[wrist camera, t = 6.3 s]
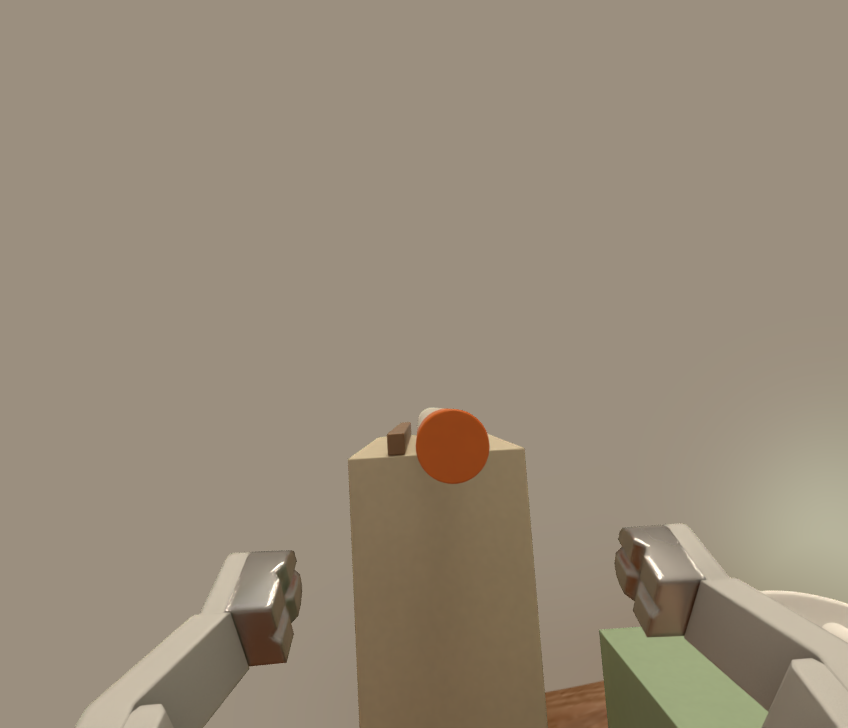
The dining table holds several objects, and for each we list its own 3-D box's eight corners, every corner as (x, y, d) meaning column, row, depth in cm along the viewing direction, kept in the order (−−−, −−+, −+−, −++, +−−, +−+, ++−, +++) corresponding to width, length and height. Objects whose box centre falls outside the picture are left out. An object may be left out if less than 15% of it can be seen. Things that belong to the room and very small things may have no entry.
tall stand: (376, 1136, 17) (346, 436, 20) (396, 806, 31) (377, 424, 33) (580, 1118, 17) (523, 424, 20) (508, 798, 31) (480, 417, 34)
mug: (1012, 801, 28) (986, 654, 29) (874, 827, 27) (852, 673, 28) (825, 685, 40) (811, 583, 41) (724, 700, 39) (711, 595, 40)
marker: (410, 479, 12) (421, 404, 12) (416, 433, 31) (420, 405, 32) (485, 489, 12) (494, 414, 12) (443, 436, 31) (447, 409, 32)
